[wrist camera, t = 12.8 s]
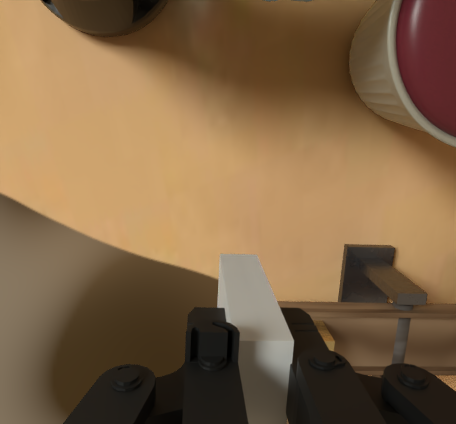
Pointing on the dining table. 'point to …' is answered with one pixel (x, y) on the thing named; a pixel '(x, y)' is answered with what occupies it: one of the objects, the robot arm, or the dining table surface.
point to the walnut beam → (389, 334)
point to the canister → (408, 64)
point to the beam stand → (375, 278)
